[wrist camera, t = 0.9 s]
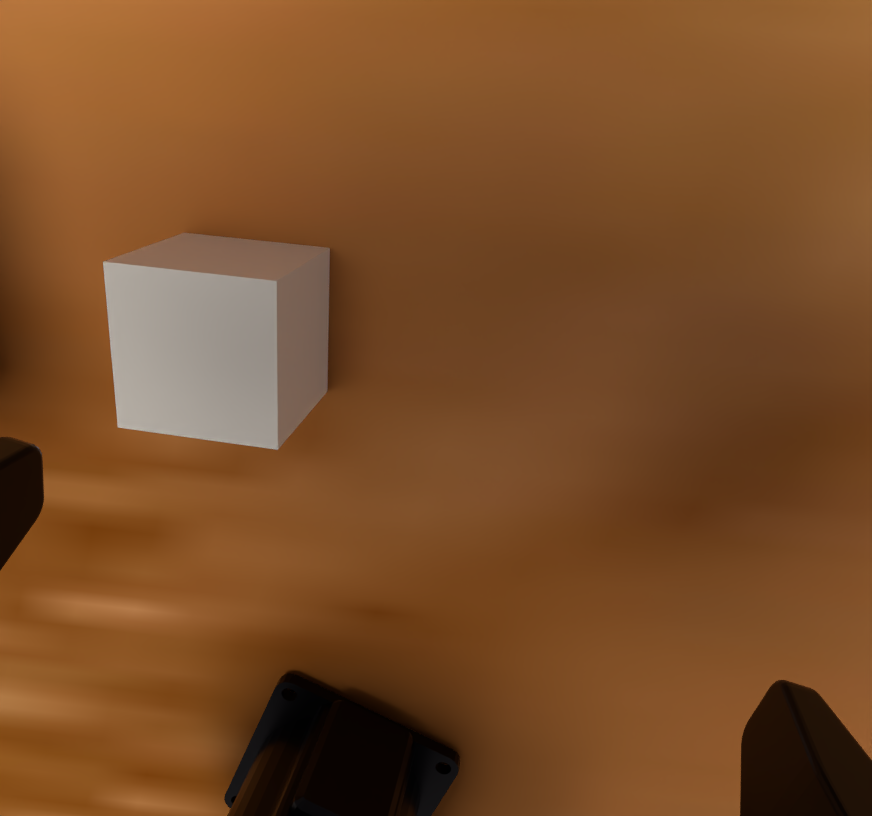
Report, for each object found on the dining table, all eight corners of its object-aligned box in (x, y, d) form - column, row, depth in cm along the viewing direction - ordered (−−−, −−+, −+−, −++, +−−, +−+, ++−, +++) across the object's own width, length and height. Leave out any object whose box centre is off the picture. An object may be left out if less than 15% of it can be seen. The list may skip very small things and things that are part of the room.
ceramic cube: (328, 390, 22) (277, 449, 19) (192, 373, 23) (117, 427, 19) (330, 247, 21) (276, 281, 17) (185, 232, 21) (102, 261, 18)
